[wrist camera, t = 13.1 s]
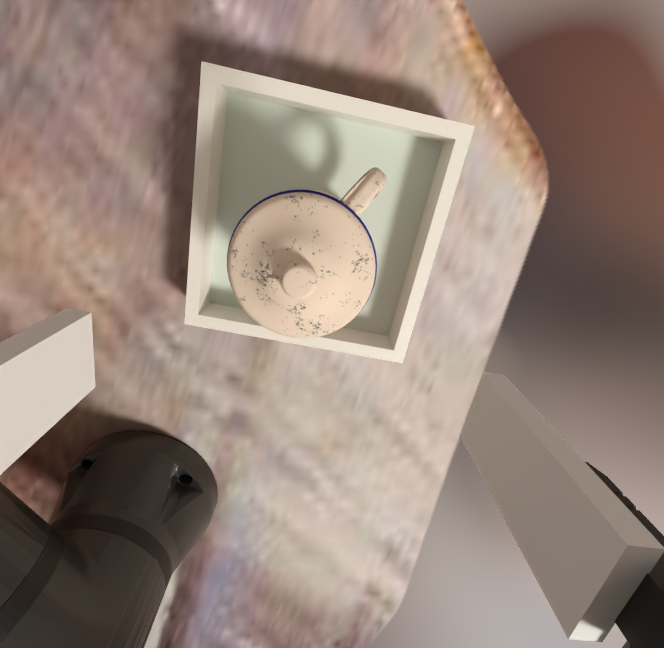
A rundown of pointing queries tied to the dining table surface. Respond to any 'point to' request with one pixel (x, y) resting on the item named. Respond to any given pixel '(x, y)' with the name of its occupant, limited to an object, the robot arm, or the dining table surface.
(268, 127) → the tray
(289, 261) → the teacup with lid
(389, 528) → the dining table surface
